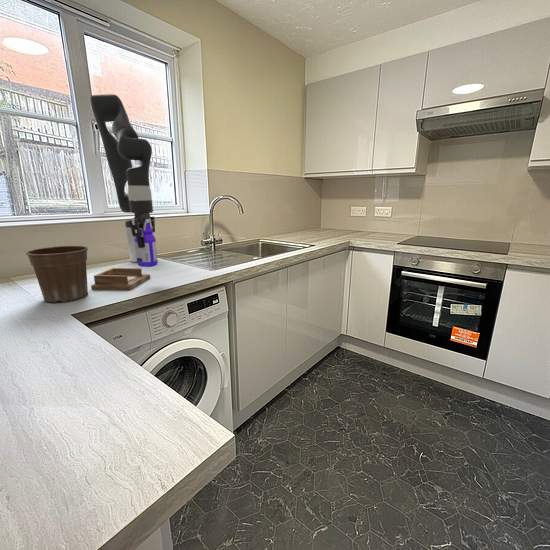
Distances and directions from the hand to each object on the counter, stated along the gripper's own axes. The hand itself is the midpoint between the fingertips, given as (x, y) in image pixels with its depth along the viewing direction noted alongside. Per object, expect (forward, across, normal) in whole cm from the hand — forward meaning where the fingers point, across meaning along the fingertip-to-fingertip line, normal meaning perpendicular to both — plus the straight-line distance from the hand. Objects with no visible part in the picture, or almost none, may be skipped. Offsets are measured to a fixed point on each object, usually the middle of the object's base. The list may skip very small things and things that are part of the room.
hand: (145, 245), depth 109 cm
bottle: (+8, 0, 0) cm, 8 cm away
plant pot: (+15, +16, -21) cm, 30 cm away
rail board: (+15, 0, -11) cm, 18 cm away
